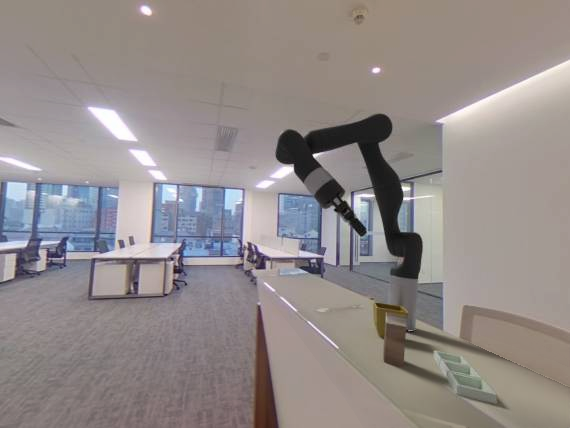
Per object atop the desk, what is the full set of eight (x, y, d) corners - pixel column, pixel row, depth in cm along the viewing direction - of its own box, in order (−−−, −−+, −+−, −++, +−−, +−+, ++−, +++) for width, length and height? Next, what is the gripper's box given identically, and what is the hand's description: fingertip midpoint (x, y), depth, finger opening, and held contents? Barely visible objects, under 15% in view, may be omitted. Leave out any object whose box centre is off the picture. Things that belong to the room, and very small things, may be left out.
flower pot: (407, 345, 74) (409, 312, 75) (374, 339, 76) (376, 307, 77) (400, 336, 82) (402, 306, 83) (370, 330, 84) (372, 301, 85)
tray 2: (439, 369, 60) (440, 359, 60) (471, 376, 58) (471, 366, 58) (446, 381, 54) (447, 370, 54) (481, 389, 52) (482, 378, 52)
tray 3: (447, 382, 54) (448, 371, 54) (482, 390, 52) (483, 379, 52) (456, 397, 48) (457, 385, 48) (496, 407, 46) (496, 394, 46)
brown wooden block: (382, 355, 63) (386, 312, 64) (401, 360, 61) (404, 315, 63) (383, 362, 59) (387, 315, 60) (403, 366, 58) (406, 319, 59)
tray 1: (433, 358, 66) (433, 350, 66) (461, 365, 64) (461, 356, 64) (439, 368, 60) (439, 359, 60) (470, 375, 58) (470, 365, 59)
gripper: (330, 170, 66) (376, 220, 61) (337, 185, 79) (375, 227, 74) (307, 190, 67) (350, 241, 62) (318, 201, 80) (354, 244, 75)
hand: (363, 233), depth 68 cm, fingers open, 8 cm apart
